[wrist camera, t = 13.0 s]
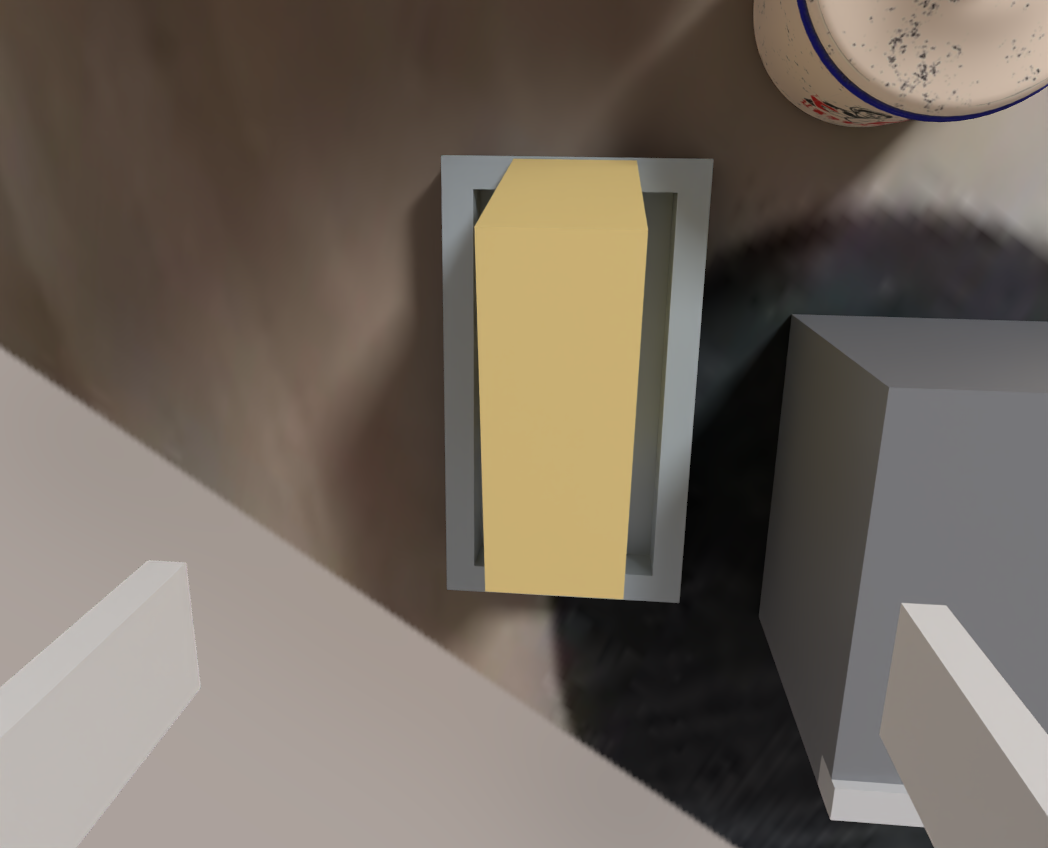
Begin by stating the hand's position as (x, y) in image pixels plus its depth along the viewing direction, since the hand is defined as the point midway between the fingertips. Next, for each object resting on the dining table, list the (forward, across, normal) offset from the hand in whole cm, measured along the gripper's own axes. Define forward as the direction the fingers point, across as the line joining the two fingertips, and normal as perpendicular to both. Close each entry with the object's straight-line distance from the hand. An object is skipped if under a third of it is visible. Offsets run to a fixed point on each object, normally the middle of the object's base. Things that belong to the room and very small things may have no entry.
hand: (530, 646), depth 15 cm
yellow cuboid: (+20, 0, +3) cm, 20 cm away
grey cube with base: (+21, +16, -4) cm, 27 cm away
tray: (+21, 0, 0) cm, 21 cm away
